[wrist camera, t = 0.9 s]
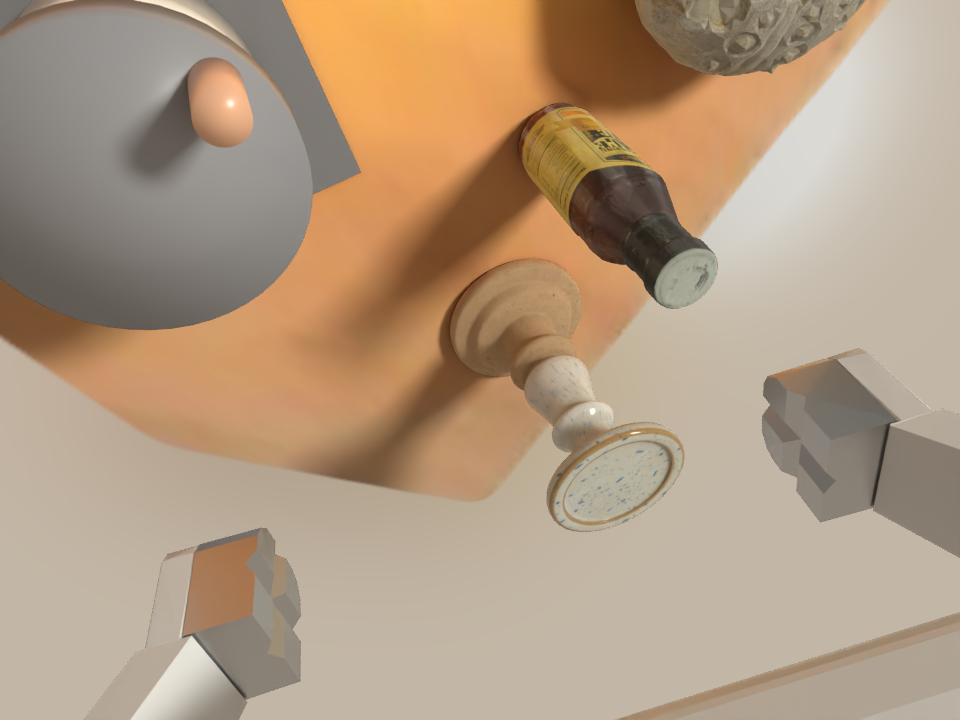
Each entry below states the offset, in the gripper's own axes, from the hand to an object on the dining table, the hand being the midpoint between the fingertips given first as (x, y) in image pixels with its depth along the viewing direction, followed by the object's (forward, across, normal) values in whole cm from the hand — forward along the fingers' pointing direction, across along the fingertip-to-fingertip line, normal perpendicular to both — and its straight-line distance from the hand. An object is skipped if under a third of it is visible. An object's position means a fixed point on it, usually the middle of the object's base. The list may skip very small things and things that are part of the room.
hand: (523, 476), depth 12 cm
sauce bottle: (+44, -11, +13) cm, 47 cm away
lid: (+30, +13, +3) cm, 33 cm away
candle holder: (+45, -6, +28) cm, 54 cm away
